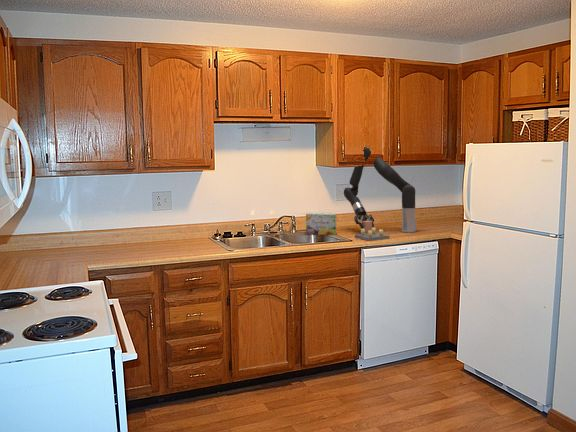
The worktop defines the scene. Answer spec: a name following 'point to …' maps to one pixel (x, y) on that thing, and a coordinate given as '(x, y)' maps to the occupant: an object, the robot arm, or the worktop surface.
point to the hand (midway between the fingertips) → (368, 227)
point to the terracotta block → (367, 225)
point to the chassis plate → (374, 237)
